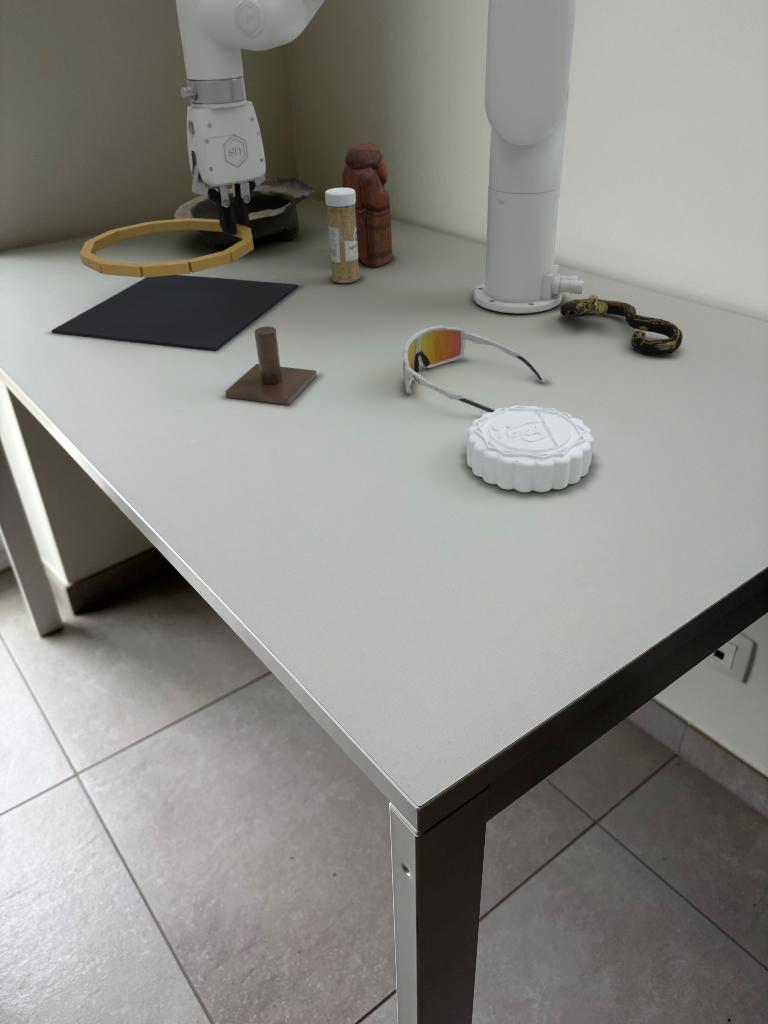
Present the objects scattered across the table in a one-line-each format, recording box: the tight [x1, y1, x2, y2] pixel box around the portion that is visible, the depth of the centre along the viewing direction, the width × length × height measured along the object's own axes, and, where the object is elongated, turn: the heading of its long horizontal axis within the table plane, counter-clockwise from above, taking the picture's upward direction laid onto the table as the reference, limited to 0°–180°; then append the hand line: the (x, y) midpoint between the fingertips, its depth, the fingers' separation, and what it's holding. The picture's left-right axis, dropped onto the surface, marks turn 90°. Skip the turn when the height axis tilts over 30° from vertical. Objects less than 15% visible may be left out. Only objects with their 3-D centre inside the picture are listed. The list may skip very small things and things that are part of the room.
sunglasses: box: [402, 325, 546, 413], centre depth 92 cm, size 14×15×5 cm
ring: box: [79, 218, 255, 279], centre depth 113 cm, size 23×23×1 cm
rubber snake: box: [559, 293, 684, 356], centre depth 103 cm, size 18×5×10 cm
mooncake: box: [465, 404, 595, 493], centre depth 77 cm, size 12×12×4 cm
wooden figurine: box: [341, 141, 393, 268], centre depth 130 cm, size 12×6×18 cm, turn 24°
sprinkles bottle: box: [324, 187, 361, 284], centre depth 123 cm, size 5×5×13 cm
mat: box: [51, 274, 299, 352], centre depth 118 cm, size 26×26×1 cm
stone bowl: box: [173, 176, 315, 247], centre depth 145 cm, size 25×25×9 cm
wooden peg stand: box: [225, 326, 317, 406], centre depth 92 cm, size 8×8×7 cm
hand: (235, 230), depth 119 cm, fingers closed on ring, 1 cm apart
